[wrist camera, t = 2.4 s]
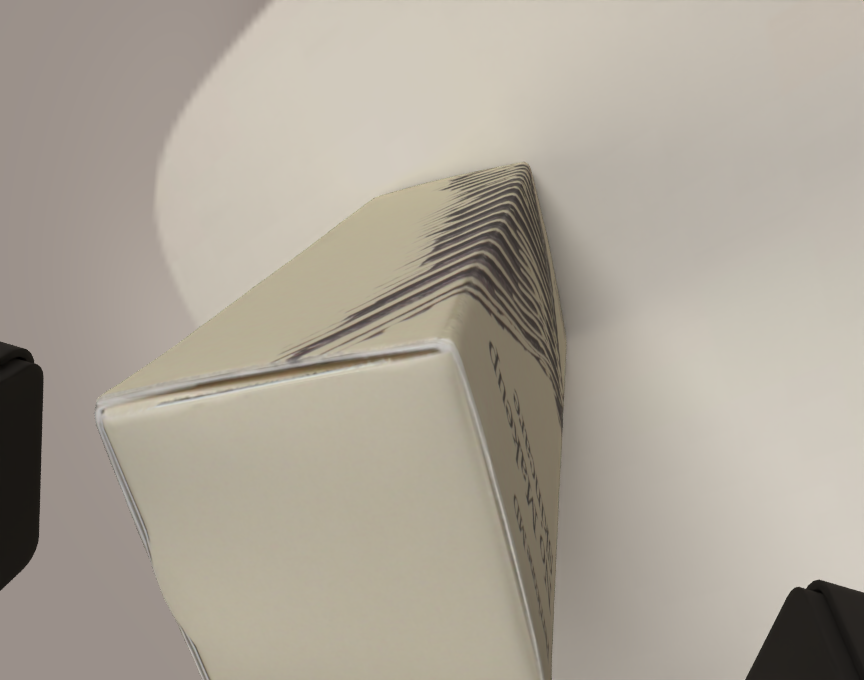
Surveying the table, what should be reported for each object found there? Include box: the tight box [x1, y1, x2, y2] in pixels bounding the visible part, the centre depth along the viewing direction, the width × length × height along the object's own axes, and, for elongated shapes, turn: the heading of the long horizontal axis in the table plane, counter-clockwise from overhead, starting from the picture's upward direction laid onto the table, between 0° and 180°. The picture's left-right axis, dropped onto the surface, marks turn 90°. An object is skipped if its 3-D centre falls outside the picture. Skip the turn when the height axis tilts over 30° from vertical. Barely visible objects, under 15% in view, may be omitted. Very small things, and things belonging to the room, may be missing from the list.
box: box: [95, 162, 567, 680], centre depth 15 cm, size 5×4×13 cm
